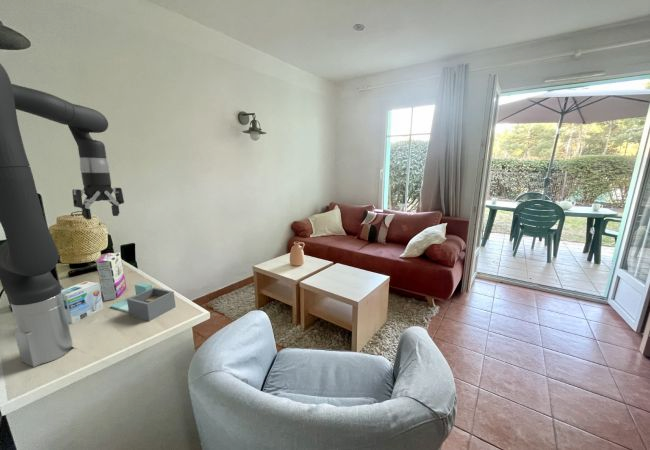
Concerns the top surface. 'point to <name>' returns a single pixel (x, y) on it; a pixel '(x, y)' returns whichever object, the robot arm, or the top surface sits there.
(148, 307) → the tub
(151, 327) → the top surface
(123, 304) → the lid
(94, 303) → the light bulb box
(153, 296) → the wood block
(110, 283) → the candy bar box
